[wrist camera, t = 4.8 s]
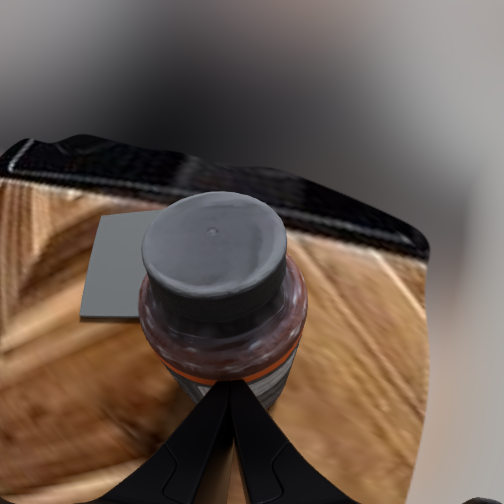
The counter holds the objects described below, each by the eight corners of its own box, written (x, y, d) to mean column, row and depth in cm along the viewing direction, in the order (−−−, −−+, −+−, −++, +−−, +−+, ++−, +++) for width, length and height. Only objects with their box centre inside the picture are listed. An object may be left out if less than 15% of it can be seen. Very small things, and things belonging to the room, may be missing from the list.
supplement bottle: (174, 345, 17) (108, 196, 9) (264, 319, 19) (271, 158, 10) (200, 435, 13) (111, 360, 5) (302, 401, 15) (369, 281, 7)
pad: (278, 312, 19) (279, 310, 18) (81, 317, 18) (79, 315, 18) (265, 206, 24) (265, 202, 23) (103, 218, 23) (101, 215, 23)
